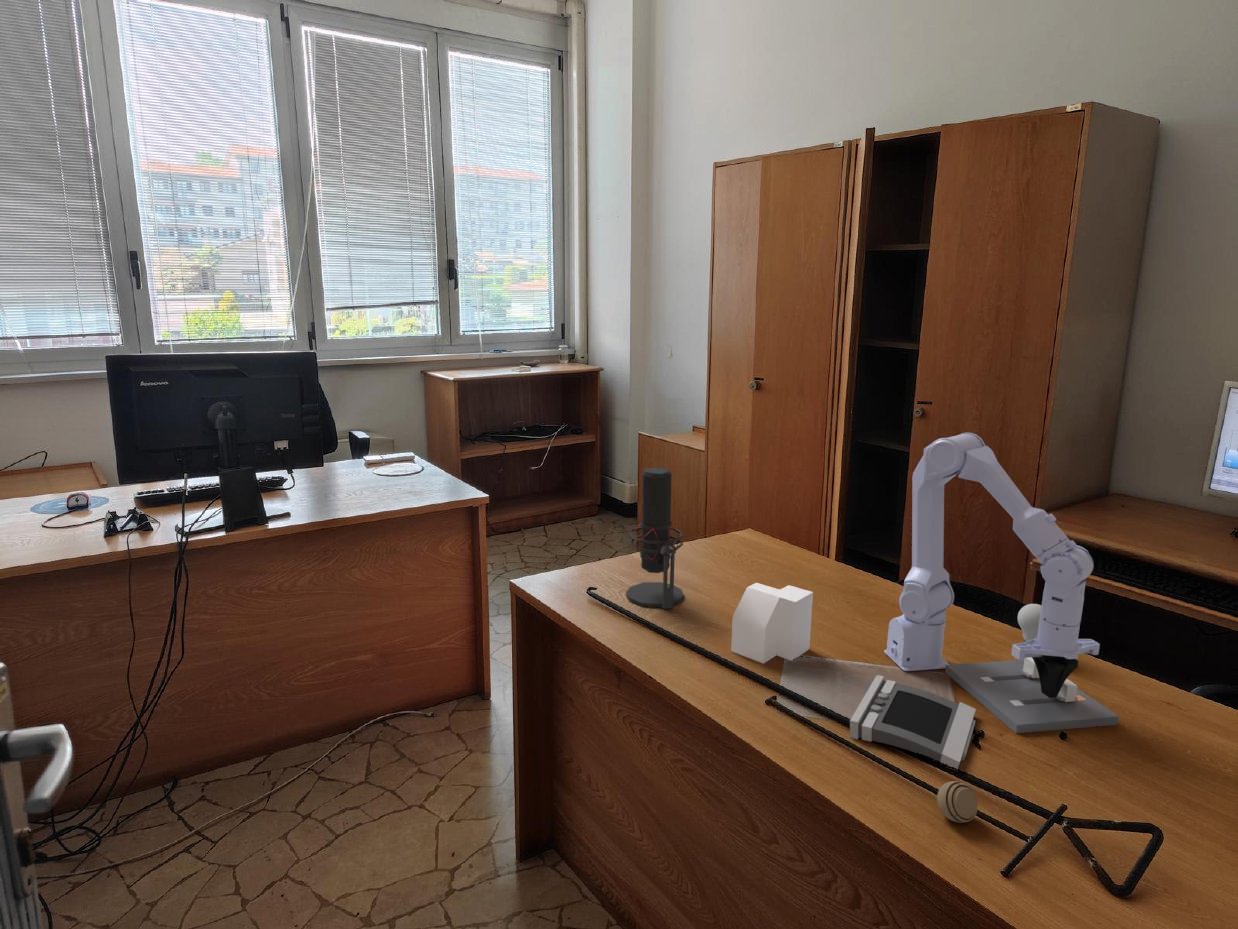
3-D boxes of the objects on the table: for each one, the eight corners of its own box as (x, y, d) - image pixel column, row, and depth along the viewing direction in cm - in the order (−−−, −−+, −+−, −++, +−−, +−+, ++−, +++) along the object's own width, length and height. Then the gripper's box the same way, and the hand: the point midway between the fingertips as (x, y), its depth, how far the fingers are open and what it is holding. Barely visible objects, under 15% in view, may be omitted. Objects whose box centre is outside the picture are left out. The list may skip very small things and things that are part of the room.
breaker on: (1029, 678, 132) (1031, 664, 132) (1019, 671, 135) (1021, 657, 134) (1044, 677, 133) (1047, 663, 132) (1035, 670, 135) (1036, 656, 135)
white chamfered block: (809, 649, 147) (813, 592, 145) (778, 669, 139) (782, 609, 137) (762, 633, 154) (765, 578, 152) (731, 651, 146) (733, 593, 144)
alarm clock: (876, 675, 131) (978, 694, 123) (876, 699, 132) (978, 720, 124) (849, 720, 117) (963, 745, 109) (850, 747, 118) (962, 774, 109)
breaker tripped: (1062, 702, 125) (1064, 687, 124) (1051, 694, 127) (1053, 679, 127) (1078, 701, 125) (1080, 685, 125) (1067, 693, 128) (1069, 678, 127)
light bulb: (1052, 661, 143) (1059, 612, 141) (1018, 658, 144) (1025, 609, 142) (1041, 647, 148) (1048, 600, 146) (1009, 644, 149) (1015, 597, 147)
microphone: (697, 594, 174) (701, 469, 168) (670, 614, 163) (673, 481, 156) (644, 581, 182) (646, 461, 175) (614, 600, 171) (615, 472, 164)
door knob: (935, 825, 98) (939, 792, 97) (934, 802, 103) (938, 770, 102) (977, 835, 96) (981, 801, 95) (974, 811, 101) (978, 778, 100)
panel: (1016, 733, 119) (1017, 724, 119) (945, 672, 138) (945, 664, 138) (1117, 724, 122) (1118, 716, 121) (1033, 666, 141) (1034, 658, 140)
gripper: (1036, 632, 118) (1025, 710, 121) (1118, 627, 120) (1106, 704, 123) (1007, 614, 125) (997, 688, 128) (1085, 609, 127) (1074, 682, 130)
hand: (1048, 694), depth 126 cm, fingers closed
